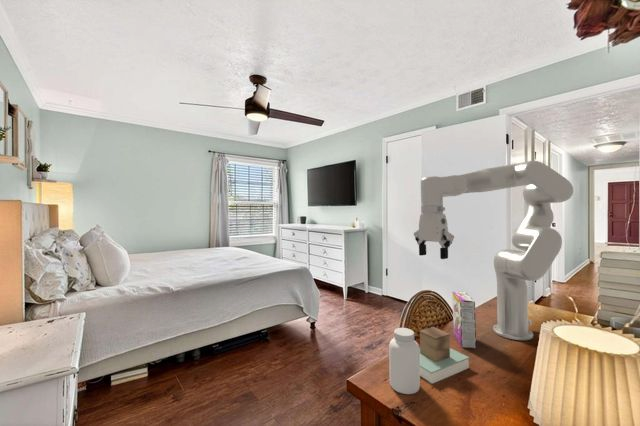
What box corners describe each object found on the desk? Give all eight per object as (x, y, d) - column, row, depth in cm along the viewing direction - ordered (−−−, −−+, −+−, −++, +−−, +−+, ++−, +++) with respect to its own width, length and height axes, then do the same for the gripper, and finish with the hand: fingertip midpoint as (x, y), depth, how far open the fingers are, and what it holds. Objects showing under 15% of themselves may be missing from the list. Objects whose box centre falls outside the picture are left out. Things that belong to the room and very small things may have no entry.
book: (400, 364, 89) (400, 353, 89) (436, 351, 96) (436, 341, 96) (431, 385, 78) (431, 372, 78) (469, 368, 86) (469, 357, 86)
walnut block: (433, 348, 91) (433, 326, 91) (450, 357, 86) (449, 333, 86) (419, 353, 89) (419, 330, 89) (435, 362, 83) (435, 338, 83)
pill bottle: (416, 399, 72) (415, 340, 72) (385, 389, 76) (384, 333, 76) (423, 382, 79) (422, 328, 79) (394, 374, 83) (393, 323, 83)
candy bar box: (452, 333, 109) (451, 291, 108) (466, 334, 108) (466, 291, 107) (460, 348, 98) (460, 300, 97) (476, 349, 97) (476, 301, 96)
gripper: (459, 209, 99) (460, 259, 99) (421, 210, 114) (422, 253, 114) (445, 210, 95) (446, 261, 96) (407, 210, 111) (408, 254, 111)
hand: (433, 256), depth 105 cm, fingers open, 9 cm apart
